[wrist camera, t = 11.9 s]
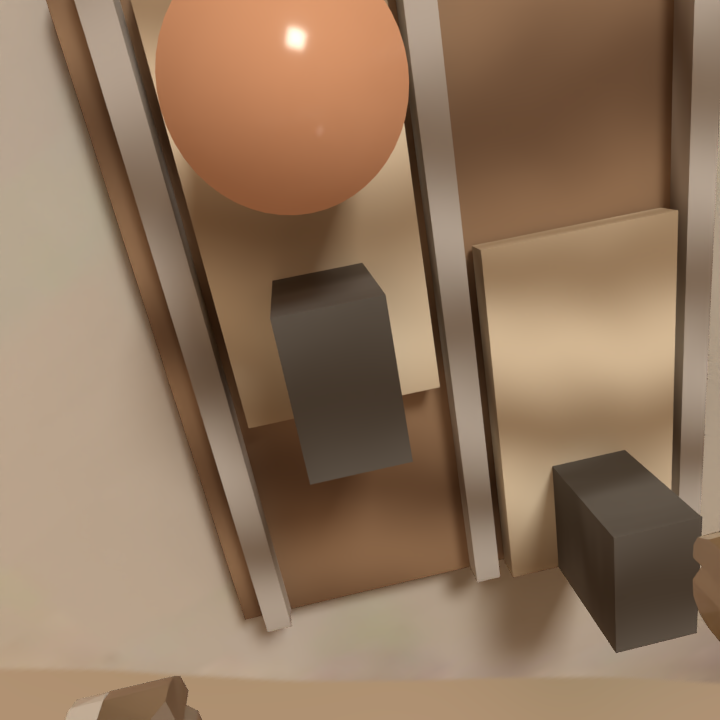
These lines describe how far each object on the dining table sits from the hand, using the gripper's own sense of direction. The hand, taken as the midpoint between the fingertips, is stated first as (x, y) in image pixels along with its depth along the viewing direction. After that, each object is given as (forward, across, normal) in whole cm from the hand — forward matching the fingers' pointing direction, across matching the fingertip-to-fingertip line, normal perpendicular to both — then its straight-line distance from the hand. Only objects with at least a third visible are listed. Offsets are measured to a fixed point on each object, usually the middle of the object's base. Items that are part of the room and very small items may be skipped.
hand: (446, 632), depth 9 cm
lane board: (+14, -3, 0) cm, 15 cm away
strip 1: (+13, +1, -5) cm, 14 cm away
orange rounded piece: (+12, 0, -8) cm, 15 cm away
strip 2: (+13, -8, +5) cm, 16 cm away
